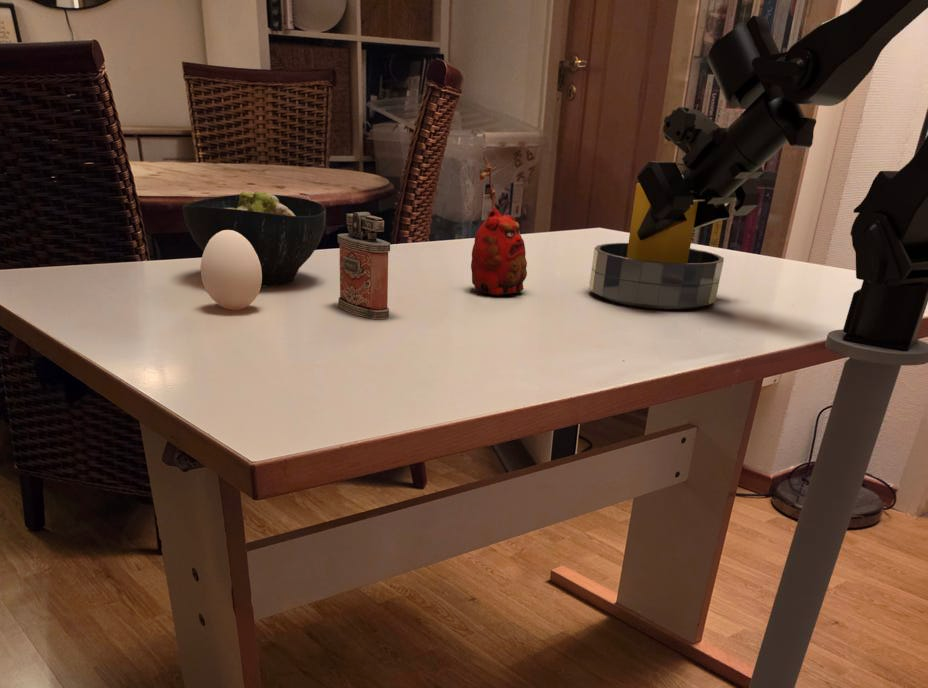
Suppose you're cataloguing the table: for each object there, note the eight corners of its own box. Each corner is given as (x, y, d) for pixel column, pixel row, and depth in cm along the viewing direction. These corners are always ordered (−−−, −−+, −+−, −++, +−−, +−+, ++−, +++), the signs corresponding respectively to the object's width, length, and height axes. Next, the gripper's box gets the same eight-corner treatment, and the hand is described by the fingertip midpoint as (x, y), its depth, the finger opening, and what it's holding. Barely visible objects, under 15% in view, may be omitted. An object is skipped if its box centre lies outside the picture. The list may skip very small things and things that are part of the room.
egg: (192, 307, 94) (184, 227, 90) (240, 300, 98) (234, 224, 94) (227, 318, 90) (221, 236, 86) (275, 311, 95) (271, 232, 90)
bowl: (164, 285, 103) (153, 192, 98) (226, 264, 117) (219, 181, 112) (299, 299, 100) (295, 204, 95) (345, 275, 114) (344, 191, 109)
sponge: (682, 295, 112) (700, 187, 105) (658, 298, 109) (676, 187, 103) (645, 287, 116) (661, 182, 109) (621, 290, 113) (636, 183, 106)
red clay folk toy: (507, 300, 107) (519, 162, 98) (457, 292, 109) (465, 157, 101) (532, 291, 112) (545, 160, 104) (484, 284, 115) (493, 155, 107)
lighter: (331, 305, 99) (330, 208, 93) (356, 303, 100) (356, 207, 95) (370, 320, 93) (370, 218, 88) (396, 317, 95) (398, 217, 90)
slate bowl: (731, 299, 115) (741, 255, 112) (687, 318, 103) (696, 268, 100) (620, 281, 122) (626, 239, 119) (567, 296, 111) (573, 250, 108)
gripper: (762, 85, 103) (669, 179, 116) (666, 76, 92) (576, 181, 105) (803, 167, 102) (705, 252, 115) (712, 167, 92) (615, 261, 104)
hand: (652, 235), depth 110 cm, fingers closed on sponge, 5 cm apart
